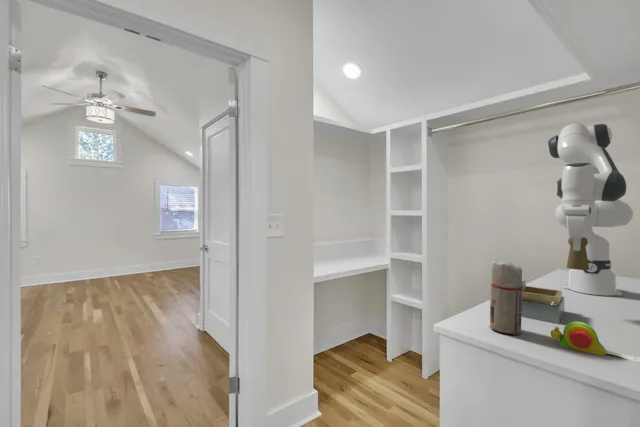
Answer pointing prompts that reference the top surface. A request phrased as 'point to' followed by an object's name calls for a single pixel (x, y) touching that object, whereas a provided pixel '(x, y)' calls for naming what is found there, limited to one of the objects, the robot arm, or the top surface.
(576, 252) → the cork
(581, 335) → the toy measuring tape
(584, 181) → the robot arm
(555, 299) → the grey wooden box
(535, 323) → the top surface
